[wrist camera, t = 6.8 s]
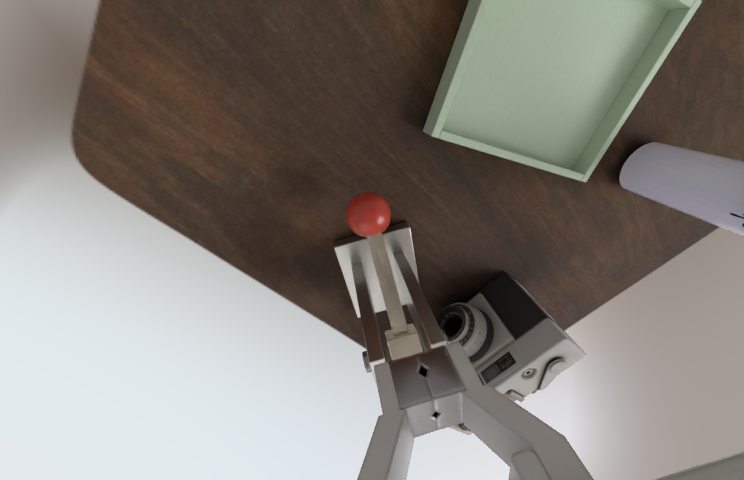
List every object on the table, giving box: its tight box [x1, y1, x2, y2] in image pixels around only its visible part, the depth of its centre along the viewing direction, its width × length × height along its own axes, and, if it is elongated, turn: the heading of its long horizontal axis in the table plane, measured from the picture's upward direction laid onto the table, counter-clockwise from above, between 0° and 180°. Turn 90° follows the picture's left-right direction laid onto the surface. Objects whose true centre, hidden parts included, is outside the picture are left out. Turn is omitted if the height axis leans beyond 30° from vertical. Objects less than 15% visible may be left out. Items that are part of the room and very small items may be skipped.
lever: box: [346, 192, 423, 360], centre depth 21 cm, size 13×3×3 cm
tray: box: [423, 0, 702, 182], centre depth 22 cm, size 15×13×2 cm
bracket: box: [333, 222, 449, 384], centre depth 25 cm, size 9×7×12 cm
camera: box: [421, 272, 586, 435], centre depth 30 cm, size 14×8×10 cm, turn 137°
